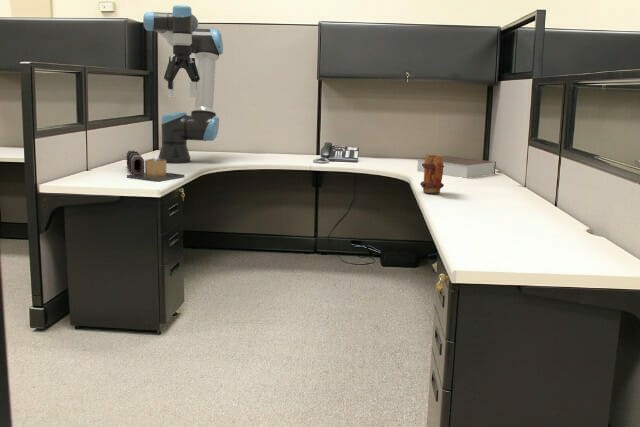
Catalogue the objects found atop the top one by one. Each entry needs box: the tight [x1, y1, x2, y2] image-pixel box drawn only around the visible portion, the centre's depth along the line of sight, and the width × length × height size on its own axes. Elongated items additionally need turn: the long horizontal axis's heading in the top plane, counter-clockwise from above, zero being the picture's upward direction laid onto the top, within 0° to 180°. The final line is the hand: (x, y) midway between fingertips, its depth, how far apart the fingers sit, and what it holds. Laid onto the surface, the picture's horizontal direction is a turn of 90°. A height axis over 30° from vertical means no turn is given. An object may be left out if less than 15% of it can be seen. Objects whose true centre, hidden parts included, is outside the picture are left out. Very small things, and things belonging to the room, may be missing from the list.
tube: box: [126, 150, 145, 174], centre depth 279 cm, size 11×7×30 cm
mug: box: [420, 154, 445, 194], centre depth 244 cm, size 15×8×15 cm, turn 5°
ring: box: [144, 158, 167, 177], centre depth 262 cm, size 8×8×6 cm
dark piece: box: [126, 157, 186, 183], centre depth 262 cm, size 16×16×8 cm
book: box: [417, 155, 497, 179], centre depth 308 cm, size 24×28×7 cm
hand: (182, 97), depth 271 cm, fingers open, 13 cm apart
